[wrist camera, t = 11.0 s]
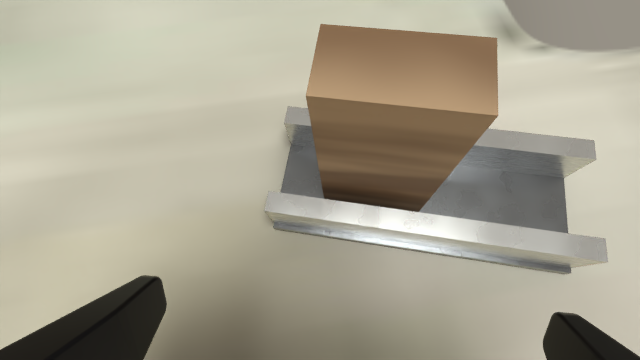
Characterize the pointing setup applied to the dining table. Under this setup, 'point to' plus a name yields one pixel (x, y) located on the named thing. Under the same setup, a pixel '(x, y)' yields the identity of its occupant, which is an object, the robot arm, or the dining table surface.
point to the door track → (455, 203)
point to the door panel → (397, 110)
